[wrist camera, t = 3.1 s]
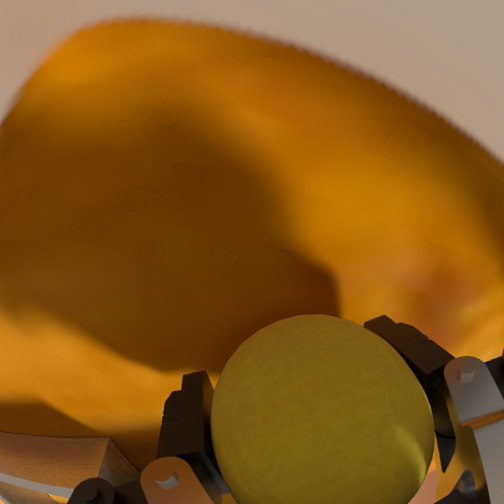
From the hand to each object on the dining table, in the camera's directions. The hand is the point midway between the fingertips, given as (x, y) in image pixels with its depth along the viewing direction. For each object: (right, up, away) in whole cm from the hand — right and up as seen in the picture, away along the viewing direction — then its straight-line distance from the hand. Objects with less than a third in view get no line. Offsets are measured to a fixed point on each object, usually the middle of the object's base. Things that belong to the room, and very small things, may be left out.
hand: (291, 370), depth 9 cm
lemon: (0, 0, +1) cm, 2 cm away
